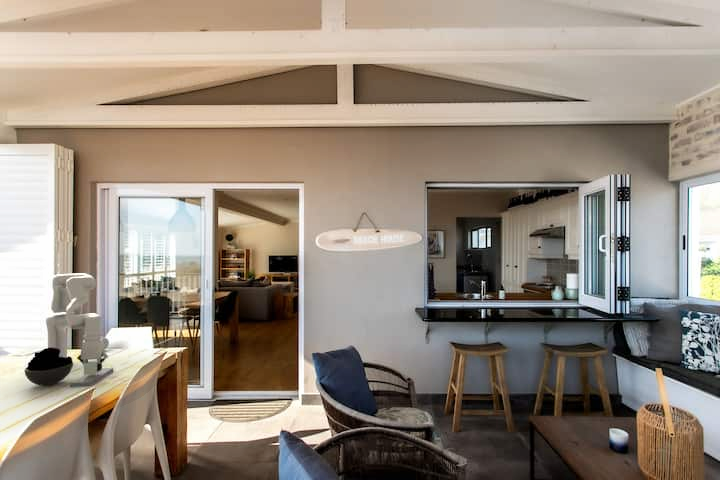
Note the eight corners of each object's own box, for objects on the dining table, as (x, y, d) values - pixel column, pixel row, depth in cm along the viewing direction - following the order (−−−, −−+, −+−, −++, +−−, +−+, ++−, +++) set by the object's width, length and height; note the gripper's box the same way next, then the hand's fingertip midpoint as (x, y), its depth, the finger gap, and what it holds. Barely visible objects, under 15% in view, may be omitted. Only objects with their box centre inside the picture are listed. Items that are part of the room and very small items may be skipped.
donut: (109, 349, 274) (109, 335, 275) (108, 350, 271) (108, 336, 271) (92, 351, 270) (92, 336, 270) (91, 352, 267) (91, 338, 267)
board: (69, 387, 199) (69, 383, 199) (94, 372, 223) (94, 368, 223) (90, 385, 201) (90, 382, 201) (113, 371, 224) (113, 367, 224)
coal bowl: (67, 375, 217) (67, 342, 218) (78, 383, 205) (78, 347, 205) (20, 385, 202) (20, 349, 202) (29, 394, 189) (29, 356, 190)
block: (83, 374, 209) (83, 363, 209) (89, 371, 215) (89, 360, 215) (95, 374, 209) (95, 363, 210) (101, 370, 215) (101, 359, 215)
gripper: (71, 340, 207) (71, 373, 207) (106, 338, 210) (106, 372, 209) (79, 337, 215) (79, 369, 215) (113, 335, 217) (113, 367, 217)
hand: (92, 370), depth 212 cm, fingers closed on block, 5 cm apart
